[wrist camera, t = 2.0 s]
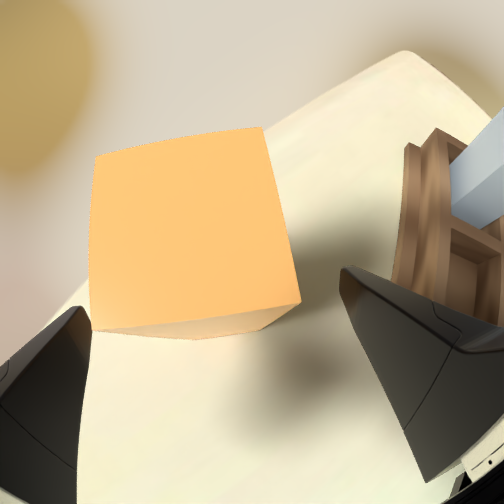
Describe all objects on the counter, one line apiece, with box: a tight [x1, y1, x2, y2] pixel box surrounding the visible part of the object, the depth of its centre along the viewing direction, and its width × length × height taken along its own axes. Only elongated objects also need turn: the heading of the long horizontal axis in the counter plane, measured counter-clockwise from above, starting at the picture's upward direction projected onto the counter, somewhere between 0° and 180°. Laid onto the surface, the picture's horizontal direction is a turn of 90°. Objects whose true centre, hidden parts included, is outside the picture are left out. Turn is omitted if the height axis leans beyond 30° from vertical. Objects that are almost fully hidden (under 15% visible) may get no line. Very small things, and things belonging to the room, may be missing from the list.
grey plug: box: [449, 107, 504, 229], centre depth 14 cm, size 4×4×13 cm
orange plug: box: [89, 127, 302, 340], centre depth 12 cm, size 4×4×13 cm
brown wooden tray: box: [391, 128, 504, 327], centre depth 18 cm, size 18×10×4 cm, turn 162°
